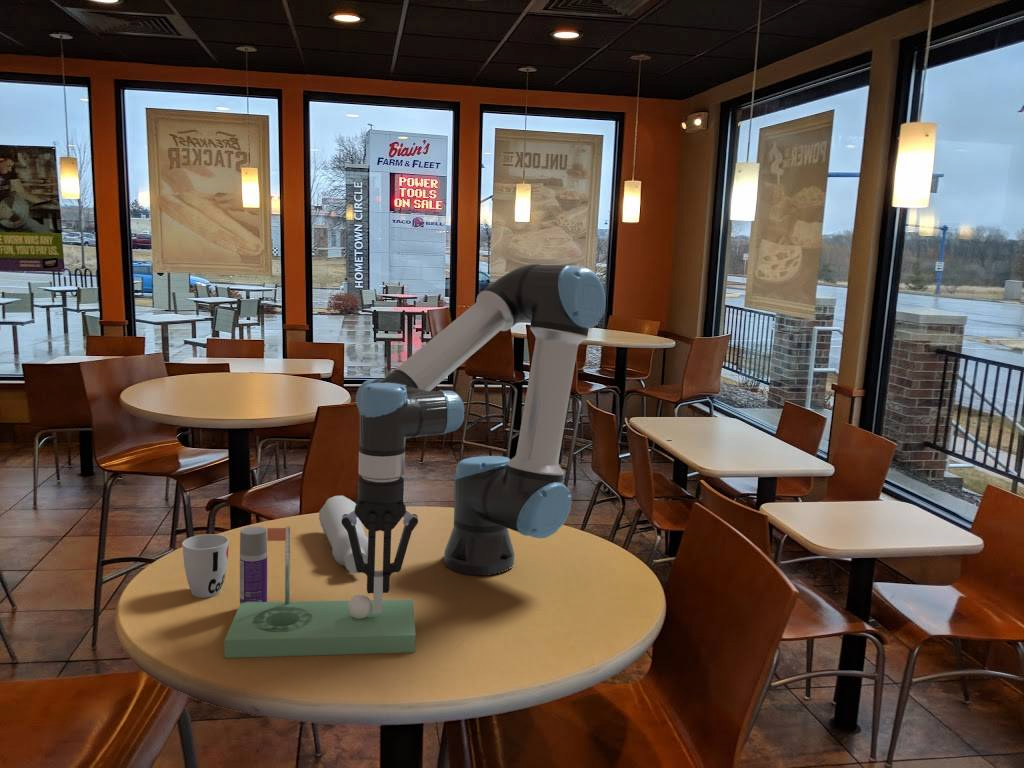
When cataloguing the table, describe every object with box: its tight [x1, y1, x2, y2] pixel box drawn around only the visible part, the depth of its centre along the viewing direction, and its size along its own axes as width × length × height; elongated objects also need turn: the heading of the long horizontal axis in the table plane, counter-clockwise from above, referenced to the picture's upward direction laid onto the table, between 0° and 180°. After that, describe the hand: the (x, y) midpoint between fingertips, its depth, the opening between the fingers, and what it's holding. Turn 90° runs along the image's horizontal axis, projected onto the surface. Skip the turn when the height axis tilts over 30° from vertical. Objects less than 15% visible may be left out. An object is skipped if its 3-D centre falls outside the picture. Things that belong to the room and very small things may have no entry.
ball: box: [348, 594, 372, 619], centre depth 135 cm, size 4×4×4 cm
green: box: [224, 598, 417, 659], centre depth 134 cm, size 30×14×3 cm, turn 99°
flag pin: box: [266, 525, 291, 605], centre depth 138 cm, size 4×1×14 cm, turn 99°
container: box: [239, 525, 268, 604], centre depth 141 cm, size 5×5×15 cm
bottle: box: [318, 495, 368, 574], centre depth 172 cm, size 9×9×30 cm
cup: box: [181, 533, 230, 599], centre depth 148 cm, size 8×8×10 cm
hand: (377, 609), depth 135 cm, fingers closed
